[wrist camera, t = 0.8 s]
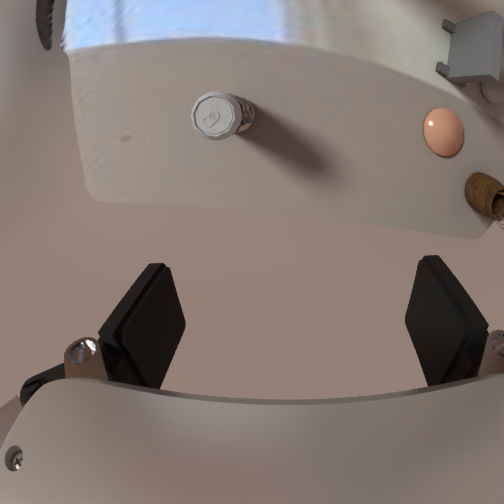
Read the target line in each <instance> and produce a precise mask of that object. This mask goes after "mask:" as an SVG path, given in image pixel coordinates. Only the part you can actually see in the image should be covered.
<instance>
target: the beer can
mask: <svg viewBox="0 0 504 504" xmlns="http://www.w3.org/2000/svg"><path fill="white" fill-rule="evenodd" d="M254 116H255V114H254V109H253V106H252V105H251V104H250V102H248V101H247V100H246V99H244V98H241V97H238V96H235V95H232V94H228V93H225V92H221V91H213V92H209V93H207V94H205V95H203V96H202V97H200V98H199V99H198V100H197V102H196V103H195V104H194V107H193V109H192V115H191V118H192V124H193V126H194V128H195V130H196V131H197V132H198V133H199V134H200V135H201V136H203V137H205V138H207V139H210V140H222V139H225V138H227V137H230V136H231V135H233V134H236V133H238V132H242V131H244V130H246V129H247V128H249V127H250V126H251V124H252V123H253V120H254Z"/></svg>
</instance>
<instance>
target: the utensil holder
mask: <svg viewBox="0 0 504 504" xmlns="http://www.w3.org/2000/svg"><path fill="white" fill-rule="evenodd" d="M465 198H466V200H467V202H468V204H469V205H470V206H471V207H473V208H474V209H475V210H477V211H478V212H479V213H481V214H482V215H484V216H486V217H490V218H491V219H493V220H495V221H498V222H499V221H501V220H503V219H504V185H502V184H501V183H500V182H499V181H498V180H496V179H495V178H493V177H491V176H489V175H486V174H484V173H480V172H477V173H474V174H472V175H471V176H470V177H469V178H468V180H467V182H466V185H465Z"/></svg>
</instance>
